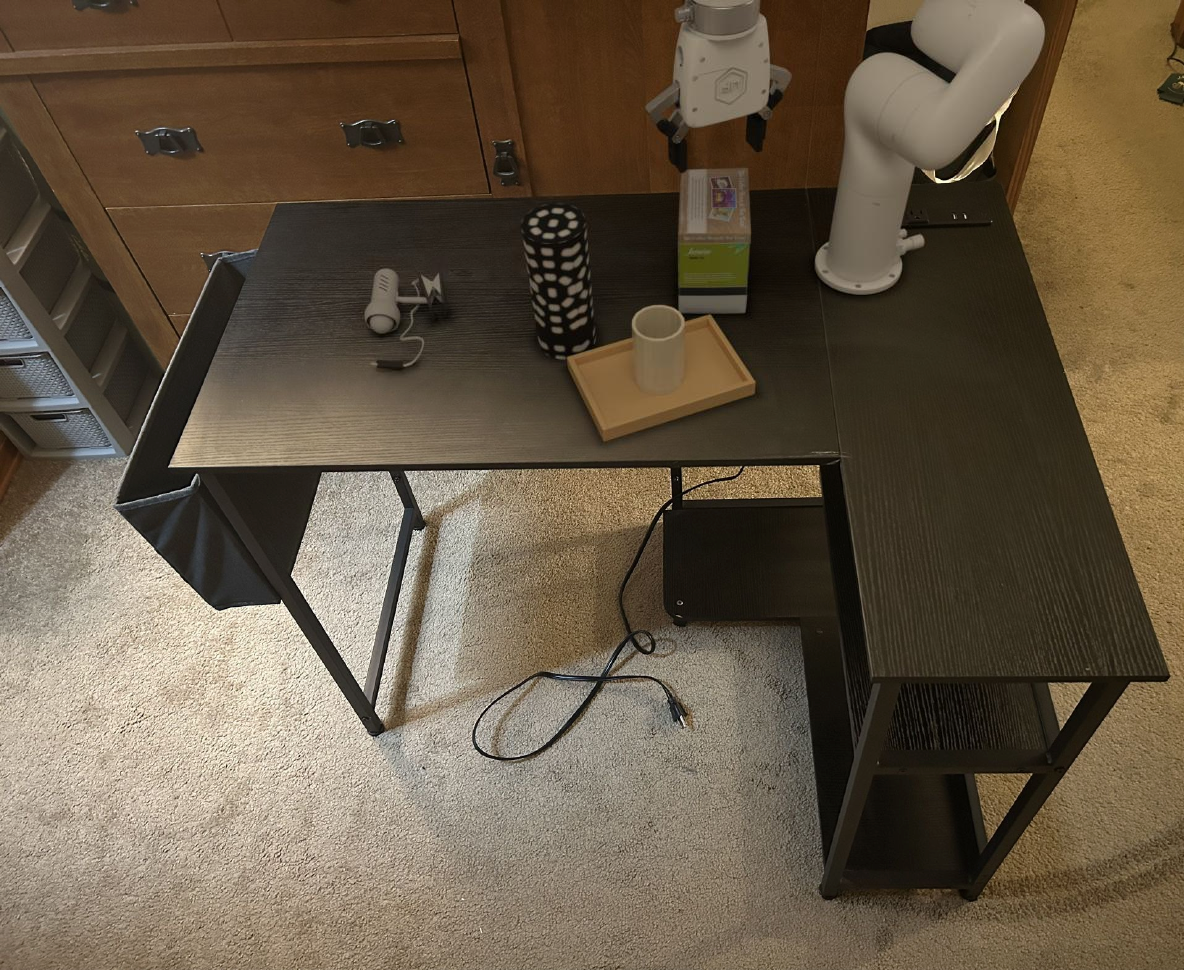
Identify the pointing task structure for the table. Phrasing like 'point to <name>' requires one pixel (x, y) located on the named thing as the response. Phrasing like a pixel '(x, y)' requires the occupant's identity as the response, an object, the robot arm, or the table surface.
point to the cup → (658, 349)
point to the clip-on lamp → (386, 313)
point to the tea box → (714, 241)
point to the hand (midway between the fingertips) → (716, 156)
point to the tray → (629, 409)
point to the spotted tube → (559, 279)
